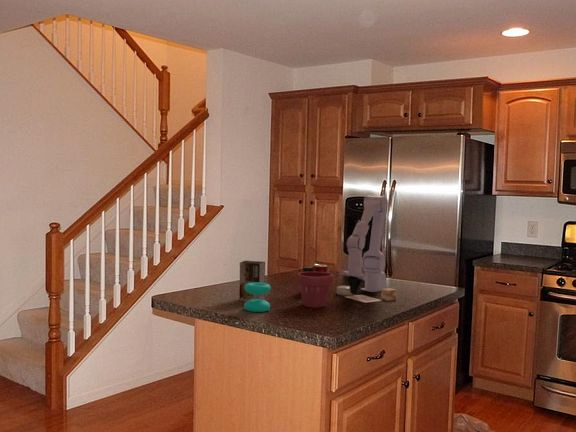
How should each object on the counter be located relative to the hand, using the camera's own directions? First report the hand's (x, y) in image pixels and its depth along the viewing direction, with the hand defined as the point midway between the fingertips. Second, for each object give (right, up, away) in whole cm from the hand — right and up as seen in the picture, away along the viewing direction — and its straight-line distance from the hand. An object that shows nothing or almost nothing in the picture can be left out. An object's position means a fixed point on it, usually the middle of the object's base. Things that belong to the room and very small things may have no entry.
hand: (354, 293), depth 253 cm
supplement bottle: (-20, -1, +2) cm, 21 cm away
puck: (-3, -1, +4) cm, 5 cm away
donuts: (-41, -2, -32) cm, 52 cm away
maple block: (+14, -2, -5) cm, 15 cm away
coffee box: (-44, -1, -15) cm, 47 cm away
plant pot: (-18, -2, -21) cm, 28 cm away
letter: (+3, -1, -5) cm, 6 cm away
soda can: (-15, 0, +9) cm, 17 cm away
